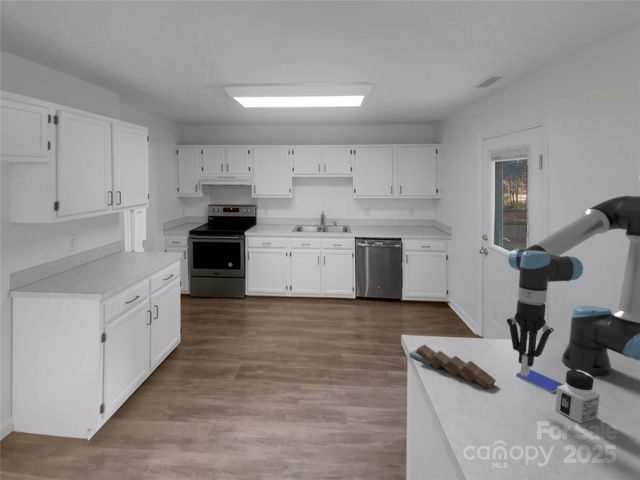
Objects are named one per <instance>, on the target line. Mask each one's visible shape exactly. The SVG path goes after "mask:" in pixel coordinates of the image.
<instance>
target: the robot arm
mask: <svg viewBox="0 0 640 480" xmlns="http://www.w3.org/2000/svg"><path fill="white" fill-rule="evenodd" d="M611 230H624V231H625V230H626V231H625V236H626V237H627V238H628V240H629V247H628V252H627V258H626V264H625V270H624V273H623V274H624V275H623V280H622V285H621V286H622V287H621V291H620V297H619V303H618V307H617V309H616V310H614V311H612V310H611V309H610V308H608V307H607V308H606V307H602V306H592V305H579V306H576V307H573V310H572V315H571V317H570V320H571V322H570V331H569V342H568V345H566V348H565V349H564V352H563V354H562V356H561V361H562V364H564V366H566V367H568V368H569V369H570V370H580V371H583V372H586V373H588V374H590V375H591V376H607V375H609V374H611V371H612V363H611V360H610V356H609V354H608V350H610V351H612V352H615V353H617V354H619V355H622V356H624V357H626V358H630V359H633V360H635V361H640V196H636V195H635V196H634V195H633V196H631V195H622V196H619V197H612V198H610V199H607V200H605V201H602V202H600V203H598V204H595V205H593V206H592V207H590V208H587V210H585V211H584V212H583V213H582V216H580V217H578V218H577V219H576V220H573V221H571V222H570V223H569V224H566V225H565V226H563V227H562V228H560V229H558V230H556V231H554V232H553V233H551V234H549V235H548V236H546V237H545V238H543V239H541V240H539V241H538V242H536V243H534V244H532V245H531V246H528V247H527V248H522V247H521V248H514V249H512V250H511V252H509V255H508V260H507V261H508V264H509V266H510V267H511V268H512V269H514V270H517V271H519V280H518V293H517V299H518V300H517V302H516V312H515V313H516V314H514V316H513V317H509V318H507V319H506V322H507V324H508V326H509V331H510V332H509V333H510V337H511V345H512V349H513V350H514V351H517V352H518V364H521V366H520V372H521V375H523V376H525V377H526V376H527V375H528V374H529V371H530V369H531V367H533V366H534V362H535V358H538V357H540V356H541V355H542V353H543V351H544V350H545V346H546V344H547V342H548V339H549V337H550V335H551V334H552V333H553V332H554V331H555V329H554V328H553V327H550V326H548V324H547V322H546V319H545V317H546V302H547V297H548V296H547V295H548V294H547V293H548V284H549V283H553V282H555V283H556V282H570V281H575V280H578V279H580V278H581V276H582V275H583V272H584V266H583V263H582V261H581V260H580V259H579V258H577V257H575V256H570V255H569V256H568V255H564V256H562V255H563V254H565V253H566V252H568V251H570V250H572V249H574V248H575V247H577V246H579V245H580V244H582V243H583V242H585V241H587V240H588V239H590V238H592V237H593V236H595V235H597V234H604V233H606V232H608V231H611ZM517 324H518V326H519V330H518V326H517ZM541 329H542V334H541V336H540V339H539V342H538V343H537V335H538V333H539V332H538V331H540V330H541ZM519 333H520V334H519ZM519 335H520V336H519ZM528 335H529V337H528ZM527 345H528V346H527Z"/></svg>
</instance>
